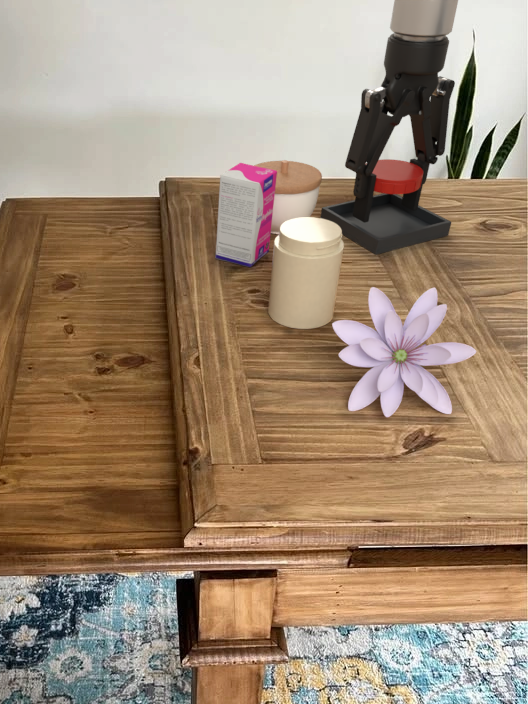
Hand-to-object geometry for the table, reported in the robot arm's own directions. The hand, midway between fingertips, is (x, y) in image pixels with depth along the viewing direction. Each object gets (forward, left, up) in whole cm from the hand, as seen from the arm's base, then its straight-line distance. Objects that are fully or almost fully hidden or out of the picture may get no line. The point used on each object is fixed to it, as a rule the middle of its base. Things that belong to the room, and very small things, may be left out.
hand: (385, 212), depth 107 cm
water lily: (-34, +27, -3) cm, 44 cm away
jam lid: (0, 0, +6) cm, 6 cm away
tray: (0, 0, -2) cm, 2 cm away
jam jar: (-15, +25, -2) cm, 29 cm away
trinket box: (+8, +13, -3) cm, 15 cm away
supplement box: (+2, +23, -3) cm, 23 cm away
